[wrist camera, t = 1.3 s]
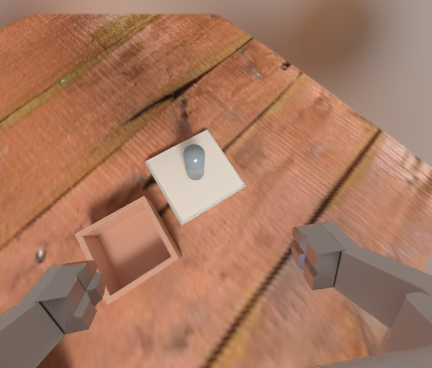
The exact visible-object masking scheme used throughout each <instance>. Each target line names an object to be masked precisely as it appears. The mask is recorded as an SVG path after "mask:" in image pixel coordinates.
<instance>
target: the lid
mask: <svg viewBox="0 0 432 368" xmlns="http://www.w3.org/2000/svg"><path fill="white" fill-rule="evenodd" d="M147 161H148V163H149V165H150V166H151V168H152V170H153V172H154V173H155V175H156V177H157V178H158V180H159V182H160V184H161V185H162V187H163V189H164V190H165V192H166V194H167V196H168V197H169V199H170V201H171V202H172V204H173V206H174V208H175V209H176V211H177V213H178V215H179V216H180V218H181V220H182V221H184V220H186V219H187V218H189V217H191V216H192V215H194V214H196V213H197V212H199V211H200V210H202V209H204V208H205V207H207V206H209V205H210V204H212V203H214V202H215V201H217V200H219V199H220V198H222V197H224V196H225V195H227V194H228V193H230V192H232V191H233V190H235V189H237V188H238V187H240V186H242V185H243V182H242V181H241V179H240V178H239V176H238V175H237V173H236V172H235V170H234V169H233V167H232V166H231V164H230V163H229V161H228V160H227V158H226V157H225V155H224V154H223V153H222V151H221V150H220V148H219V147H218V145H217V144H216V142H215V141H214V139H213V138H212V136H211V135H210V133H209V132H208V130H205V131H203V132H201V133H199V134H197V135H195V136H193V137H192V138H190V139H188V140H186V141H184V142H182V143H180V144H178V145H176V146H174V147H172V148H170V149H168V150H166V151H164V152H162V153H161V154H159V155H157V156H155V157H153V158H151V159H149V160H147Z"/></svg>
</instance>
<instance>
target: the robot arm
mask: <svg viewBox="0 0 432 368" xmlns="http://www.w3.org/2000/svg"><path fill="white" fill-rule="evenodd" d="M292 235H293V237H294V238H295V240H294V241H293V242H292V254H293V257H294V260H295V262H296V264H297V266H298V267H300V268H302V269H303V270H304V273H303V276H304V278H305V279H306V281H307V283H308V284H309V286H310V288H311V289H312V290H318V289H324V288H331V287H334V289H336V290H337V291H339V292H340V293H341V294H343V295H344V296H346V297H347V298H348V299H350V300H351V301H352V302H354V303H355V304H357V305H358V306H359V307H361V308H362V309H363V310H365V311H366V312H368V313H369V314H370V315H372V316H373V317H375V318H376V319H377V320H379V321H380V322H381V323H383V324H384V325H386V326H387V327H388V328H390V331H389V334H388V336H387V338H386V341H385V346H386V348H387V349H388V350H389V353H384V354H379V355H374V356H368V357H363V358H358V359H353V360H347V361H342V362H337V363H332V364H326V365H321V366H316V367H311V368H432V276H431V275H429V274H427V273H424V272H422V271H419V270H417V269H415V268H412V267H410V266H407V265H405V264H403V263H400V262H398V261H395V260H393V259H390V258H388V257H386V256H383V255H381V254H378V253H376V252H374V251H371V250H369V249H366V248H359V247H358V246H357V245H356V244H355V243H354V242H353V241H352V240H351V239H350V238H349V237H348V236H347V235H346V234H345V233H344V232H343V231H342V230H341V229H339V228H338V227H337V226H336V225H335V224H334V223H333V222H331V221H326V222H321V223H317V224H311V225H305V226H299V227H294V228H293V232H292ZM97 269H98V265H97V264H96V262H95V261H93V260H88V261H81V262H74V263H66V264H61V265H54V266H52V267H50V268H48V269H47V270H46V272H45V273H44V274H43V275H42V277H41V278H40V279H39V280H38V281H37V283H36V284H35V285H34V286H33V288H32V289H31V290H30V291H29V293H28V294H27V295H26V296H25V297H24V299H23V300H22V301H21V302H20V304H19V305H18V306H13V307H12V308H10V309H9V310H8V311H6V312H5V313H3V314H2V315H0V368H36V367H37V366H38V365H39V364H40V363H41V361H42V360H43V359H44V358H45V357H46V356H47V355H48V354H49V353H50V351H51V350H52V349H53V348H54V347H55V346H56V345H57V344H58V343H59V341H60V340H61V339H62V338H63V337H64V336H65V335H64V334H69V333H74V332H78V331H83V330H88V329H89V328H90V325H91V323H92V321H93V319H94V316H95V314H96V312H97V310H96V307H95V306H96V305H97V304H98V303H99V302H100V301H101V300H102V298H103V295H104V293H105V286H106V284H105V279H104V277H103V275H102V274H101V273H99V272H97Z"/></svg>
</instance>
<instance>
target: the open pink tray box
mask: <svg viewBox="0 0 432 368" xmlns="http://www.w3.org/2000/svg"><path fill="white" fill-rule="evenodd" d="M75 236H76V238H77V240H78V242H79V244H80V247H81V249H82V251H83V253H84V255H85V258H86V260H87V261H88V260H93V261H95V262H96V264H97V265H98V269H97V272H99V273H101V274H102V275H103V277H104V279H105V284H106V286H105V293H104V295H103V297H104V299H105V302H106V304H107V305H108V304H110V303H111V302H113V301H114V300H116V299H117V298H119V297H120V296H122V295H124V294H125V293H127V292H128V291H130V290H131V289H133V288H134V287H136V286H137V285H139V284H140V283H142V282H144V281H145V280H147V279H148V278H150V277H151V276H153V275H154V274H156V273H157V272H159V271H161V270H162V269H164V268H165V267H167V266H168V265H170V264H171V263H173V262H174V261H176V260H177V259H179V258H180V257H181V256H182V255H181V253H180V251H179V249H178V248H177V246H176V244H175V242H174V240H173V239H172V237H171V235H170V233H169V232H168V230H167V228H166V226H165V224H164V223H163V221H162V219H161V217H160V215H159V214H158V212H157V210H156V208H155V206H154V205H153V203H152V202H151V201H150V200H149V199H148V198H146V197H145V196H143V197H141V198H139V199H137V200H135V201H134V202H132V203H130V204H128V205H126V206H125V207H123V208H121V209H119V210H117V211H116V212H114V213H112V214H110V215H108V216H107V217H105V218H103V219H101V220H99V221H97V222H96V223H94V224H92V225H90V226H88V227H87V228H85V229H83V230H81V231H79V232H78V233H76V234H75Z"/></svg>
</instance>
